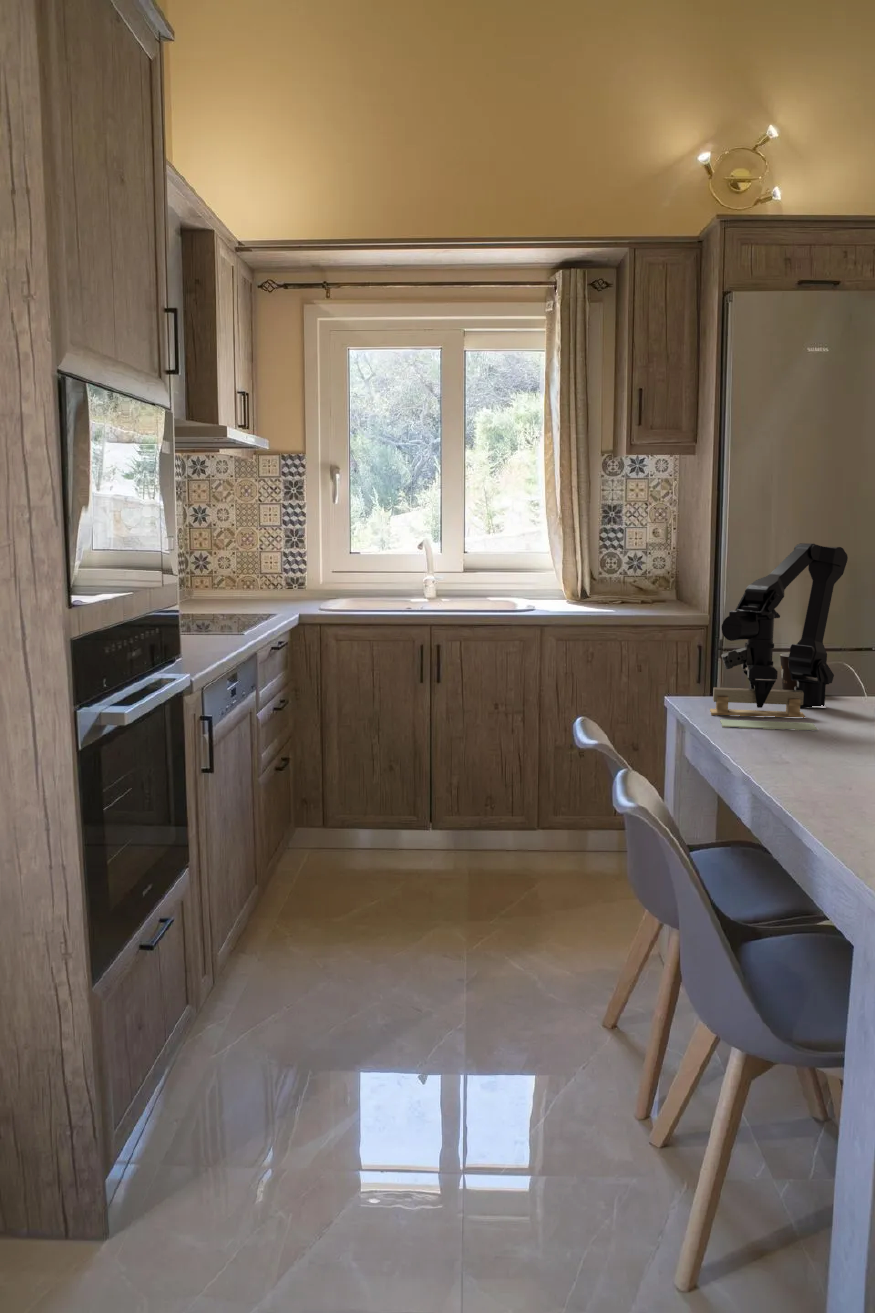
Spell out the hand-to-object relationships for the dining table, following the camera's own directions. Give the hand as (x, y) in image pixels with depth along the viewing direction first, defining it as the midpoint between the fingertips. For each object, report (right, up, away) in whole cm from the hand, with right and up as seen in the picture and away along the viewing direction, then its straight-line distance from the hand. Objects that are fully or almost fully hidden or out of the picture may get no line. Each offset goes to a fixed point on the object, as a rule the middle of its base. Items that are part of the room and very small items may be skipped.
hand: (757, 704), depth 236 cm
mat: (-2, -4, -12) cm, 13 cm away
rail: (0, 0, 0) cm, 0 cm away
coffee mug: (+21, +1, +33) cm, 39 cm away
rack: (0, -3, 0) cm, 3 cm away
